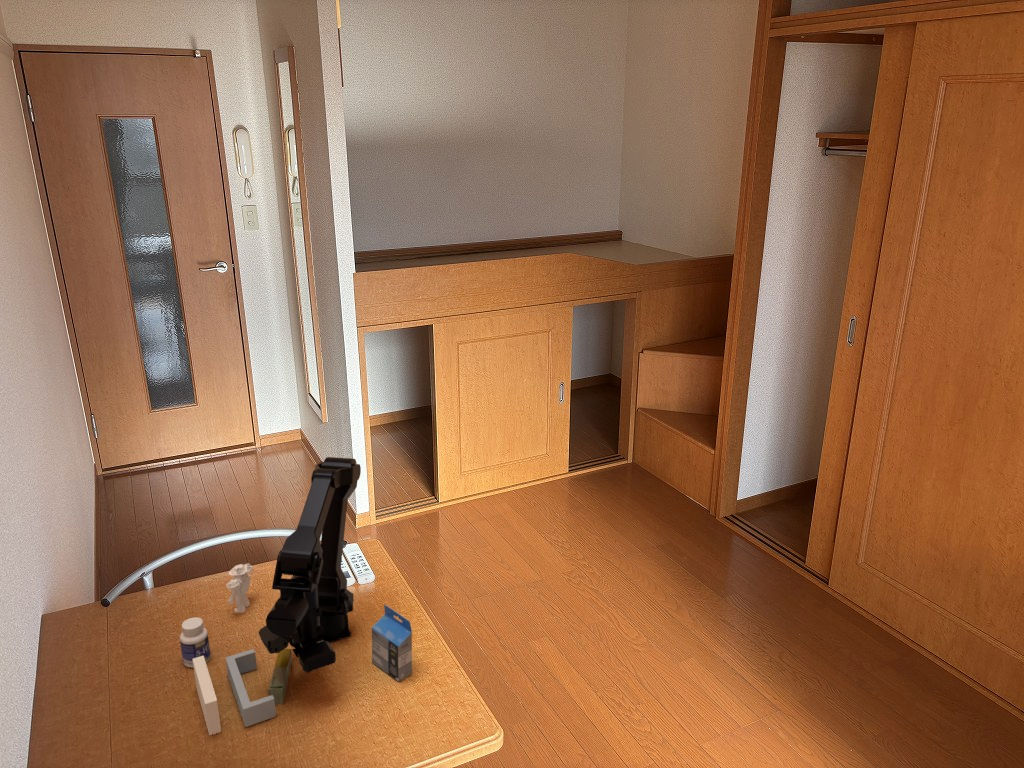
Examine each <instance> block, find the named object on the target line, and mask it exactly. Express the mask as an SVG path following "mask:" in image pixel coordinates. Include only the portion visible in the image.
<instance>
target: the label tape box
mask: <svg viewBox="0 0 1024 768" xmlns="http://www.w3.org/2000/svg"><path fill="white" fill-rule="evenodd" d="M383 606H384V614H383V616H382V617H381V618H379V620H377V622H376V623H375V624H374V625H373V626H372V627H371V663H372V664H374V665H375V666H377V667H378V668H379V669H381V670H382V671H383V672H385V673H386V674H388V675H389V676H390V677H392V678H393V679H394V680H396V681H397V682H401V681H403V680H404V679H406V678H407V677H409V676H410V675H412V674H413V643H412V639H413V634H412V633H413V630H412V625H411V624H412V623H411V621H410V620H409V619H407V618H406V617H404V616H403V615H401V614H400V613H398V612H397V611H395V610H394V609H393V608H391V607H390V606H388V605H386V604H383ZM396 617H397V618H398V619H397V618H396Z"/></svg>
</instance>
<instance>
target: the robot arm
mask: <svg viewBox="0 0 1024 768" xmlns="http://www.w3.org/2000/svg"><path fill="white" fill-rule="evenodd" d="M361 467H362V466H361V464H359V463H357V459H356V458H353V457H352V458H350V457H335V456H327V457H325V458H324V460H323V461H320V462H318V463H317V464H315V466H314V470H313V471H312V473H311V478H310V479H311V480H310V482H311V485H310V487H309V490H308V494H307V497H306V500H305V503H304V507H303V509H302V512H301V515H300V518H299V522H298V524H297V526H296V529H295V530H294V531H293V532H292V533H291V534H290V535H288V537H286V539H285V541H284V543H283V545H282V548H281V549H280V551H279V552H278V554H277V559H276V563H275V569H274V575H273V580H272V584H271V585H272V586H271V589H272V590H279V595H280V596H279V598H278V599H277V600H276V601H275V602H274V605H273V606H272V608H271V609H270V611H269V612H268V614H267V615H266V618H265V625H264V626H263V627H261V628H260V629H259V631H258V636H259V637H260V640H261V642H262V644H263V645H264V647H265V648H266V651H267V652H268V653H269V654H272V655H273V654H278V653H279V652H280V651H282V650H284V649H288V647H289V646H291V647H292V648H291V650H292V651H293V653H294V656H295V657H296V658H297V659H298V661H299V665H300V667H301V669H302V671H303V672H304V673H306V674H309V673H311V672H313V671H316V670H319V669H321V668H324V667H328V666H330V665H333V664H335V662H337V655H336V651H335V649H334V647H333V645H332V643H333V642H337V641H339V640H343V639H346V638H349V637H352V631H351V630H350V628H349V613H351V612H353V611H354V601H355V599H354V593H353V592H351V591H350V590H349V589H348V579H347V578H346V575H345V573H344V572H343V568H342V560H343V559H342V558H343V549H344V540H345V532H346V531H345V530H346V520H347V512H348V511H347V510H348V501H349V499H350V497H351V496H352V494H353V493H354V492H355V490H356V489H357V486H358V481H359V479H360V477H361V473H362V471H361ZM320 540H321V541H320ZM282 576H291V577H290V578H283V577H282Z"/></svg>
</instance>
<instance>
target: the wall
mask: <svg viewBox="0 0 1024 768" xmlns="http://www.w3.org/2000/svg"><path fill="white" fill-rule="evenodd" d="M193 666H194V668H193V673H194V679H195V686H196V687H195V688H196V691H197V695H198V699H199V703H200V706H201V709H202V714H203V717H204V721H205V724H206V728H207V732H208V734H209V737H211V736H213V735H216V733H217V734H219V733H222V727H221V721H220V713H219V704H218V698H217V696H216V693H215V689H214V686H213V682H212V679H211V675H210V672H209V669H208V665H207V663H206V662H205V659H204V656H200V657H197V658H193ZM212 734H213V735H212ZM210 735H211V736H210Z"/></svg>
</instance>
